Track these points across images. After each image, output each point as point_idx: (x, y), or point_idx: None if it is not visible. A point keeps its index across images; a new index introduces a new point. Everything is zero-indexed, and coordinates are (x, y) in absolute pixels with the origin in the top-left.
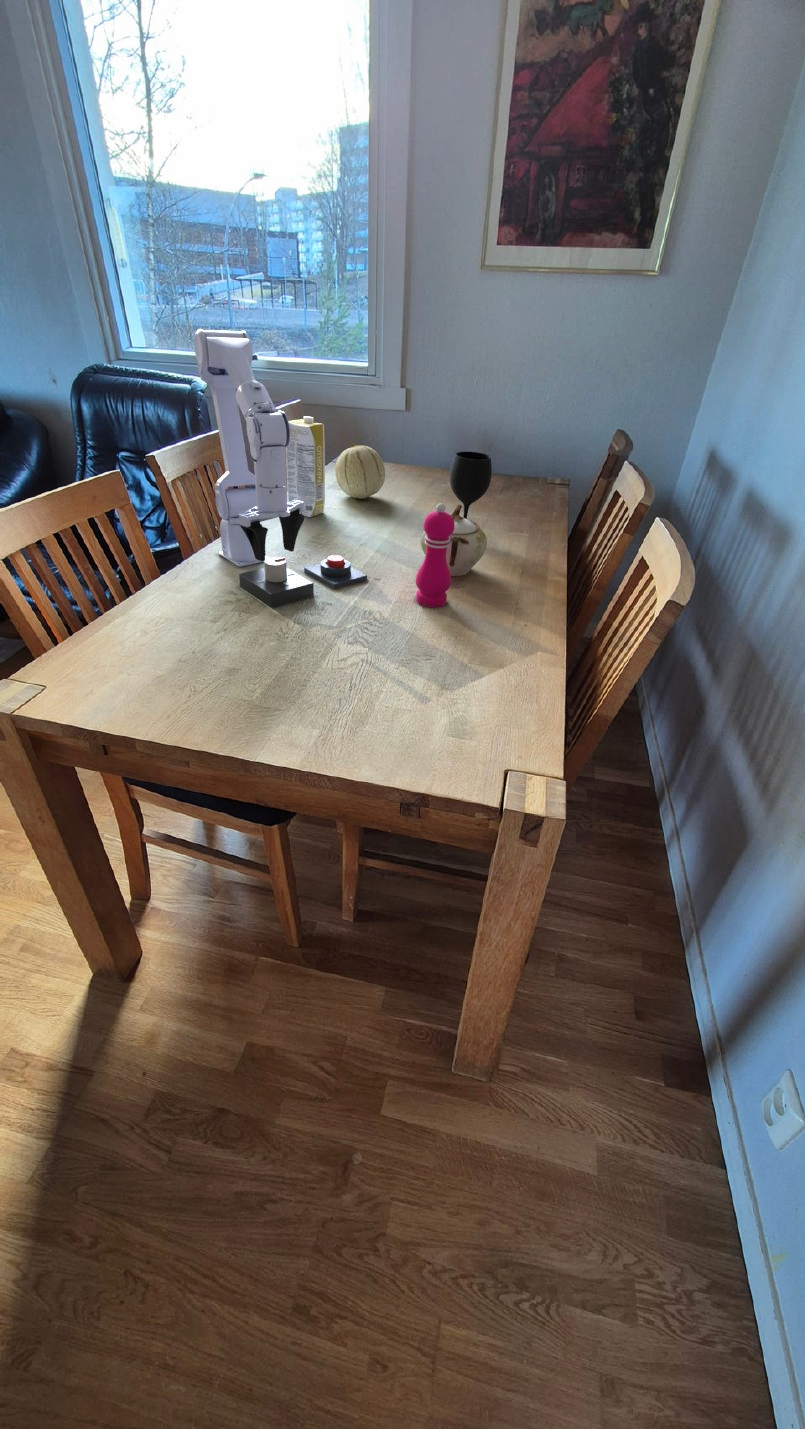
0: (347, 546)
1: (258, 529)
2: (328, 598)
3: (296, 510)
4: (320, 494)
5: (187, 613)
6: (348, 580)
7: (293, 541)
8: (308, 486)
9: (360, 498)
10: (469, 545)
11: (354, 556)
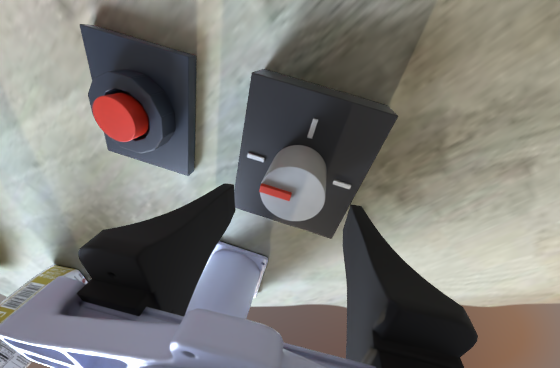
0: (63, 179)
1: (459, 335)
2: (242, 27)
3: (90, 303)
4: (26, 291)
5: (499, 226)
6: (141, 42)
7: (212, 199)
8: None
9: None
10: None
11: (67, 142)
